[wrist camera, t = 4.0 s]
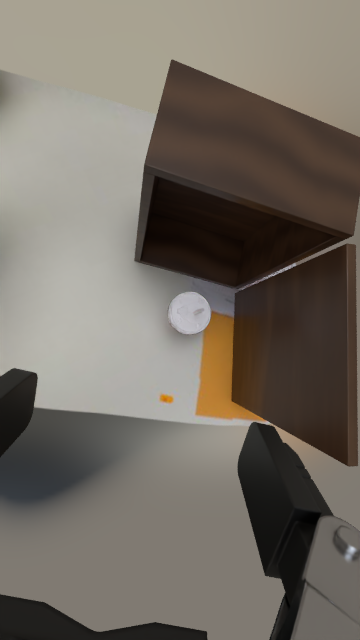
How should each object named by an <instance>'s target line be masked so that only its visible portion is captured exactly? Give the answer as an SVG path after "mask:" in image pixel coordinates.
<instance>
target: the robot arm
mask: <svg viewBox="0 0 360 640" xmlns="http://www.w3.org/2000/svg"><path fill="white" fill-rule="evenodd" d="M37 379H38V377H37V374H36V373H34V372H29V371H25V370H20V369H16V368H13V369H11V370H10V371H8V372H7V373H5V374H4V375H2V376H1V377H0V457H1V456H2V455H3V454H4V452H5V451H6V450H7V449H8V448H9V447H10V446H11V445H12V444H13V442H14V441H15V440H16V439H17V438H18V437H19V436H20V435H21V433H22V432H23V431H24V430H25V429H26V427H27V426H28V424H29V422H30V420H31V417H32V413H33V408H34V401H35V394H36V387H37ZM238 476H239V479H240V483H241V487H242V490H243V494H244V498H245V502H246V506H247V509H248V513H249V517H250V521H251V524H252V528H253V532H254V536H255V539H256V543H257V547H258V551H259V555H260V558H261V562H262V566H263V570H264V573H265V576H269V577H274V578H280V579H281V580H282V583H283V586H284V589H285V595H284V597H283V599H282V602H281V605H280V608H279V611H278V614H277V617H276V621H275V624H274V627H273V630H272V633H271V636H270V639H269V640H360V531H359V530H358V529H356V528H355V527H354V526H352V525H351V524H349V523H348V522H346V521H344V520H342V519H340V518H338V517H335V516H334V515H333V513H332V512H331V510H330V508H329V507H328V505H327V503H326V502H325V500H324V498H323V497H322V495H321V493H320V492H319V490H318V488H317V486H316V485H315V483H314V481H313V480H312V479H311V476H310V475H309V473H308V471H307V470H306V469H305V467H304V465H303V463H302V461H301V460H300V458H299V456H298V455H297V454H296V452H294V450H292V449H291V448H290V447H289V446H288V445H287V444H286V443H283V442H282V440H281V438H280V436H279V434H278V432H277V431H276V429H275V427H273V426H270V425H266V424H261V423H257V422H253V423H251V425H250V427H249V430H248V433H247V435H246V438H245V441H244V444H243V447H242V450H241V453H240V455H239V460H238ZM0 640H207V632H206V631H201V630H195V629H190V628H184V627H179V626H173V625H168V624H162V623H156V622H154V623H149V624H143V625H138V626H131V627H126V628H120V629H115V630H109V631H103V632H96V631H93V630H91V629H89V628H87V627H85V626H84V625H82V624H80V623H79V622H77V621H75V620H73V619H72V618H70V617H68V616H67V615H65V614H63V613H62V612H60V611H58V610H57V609H55V608H53V607H51V606H50V605H48V604H46V603H44V602H39V601H33V600H28V599H22V598H17V597H11V596H6V595H0Z"/></svg>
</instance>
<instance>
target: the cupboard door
mask: <svg viewBox="0 0 360 640" xmlns="http://www.w3.org/2000/svg"><path fill="white" fill-rule="evenodd" d="M356 327H357V325H356V245H354V244H345V245H343V246H340V247H338V248H336V249H334V250H331V251H329V252H327V253H325V254H322V255H320V256H318V257H315V258H313V259H311V260H309V261H307V262H304V263H302V264H300V265H297V266H295V267H293V268H291V269H288V270H286V271H284V272H282V273H279V274H277V275H275V276H273V277H270V278H268V279H266V280H264V281H261V282H259V283H257V284H254V285H252V286H250V287H248V288H245V289H243V290H241V291H239V292H236V293H235V311H234V345H233V378H232V401H233V402H235V403H237V404H238V405H240V406H242V407H244V408H245V409H247V410H249V411H251V412H253V413H254V414H256V415H258V416H260V417H261V418H263V419H265V420H267V421H269V422H270V423H272V424H274V425H276V426H277V427H279V428H281V429H283V430H285V431H286V432H288V433H290V434H292V435H294V436H295V437H297V438H299V439H301V440H302V441H304V442H306V443H308V444H309V445H311V446H313V447H315V448H317V449H318V450H320V451H322V452H324V453H326V454H328V455H329V456H331V457H333V458H334V459H336V460H338V461H340V462H341V463H343V464H345V465H347V466H358V431H357V430H358V427H357V334H356V333H357V329H356Z"/></svg>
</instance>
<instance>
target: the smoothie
mask: <svg viewBox="0 0 360 640" xmlns="http://www.w3.org/2000/svg"><path fill="white" fill-rule="evenodd" d="M210 318H211V308H210V305H209V303H208V301H207V300H206V299H205V298H204V297H203V296H202V295H200V294H199V293H196V292H184V293H181V294H179V295H177V296H176V297H175V298H174V299H173V300H172V301H171V303H170V305H169V309H168V320H169V323H170V325H171V326H173V327H174V328H175V329H176V330H177V331H178V332H180V333H182V334H186V335H193V334H196V333H199V332H201V331H202V330H204V329H205V328H206V327H207V325H208V324H209V322H210Z"/></svg>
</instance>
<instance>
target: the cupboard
mask: <svg viewBox="0 0 360 640" xmlns="http://www.w3.org/2000/svg"><path fill="white" fill-rule="evenodd" d="M359 197H360V137H358V136H356V135H353V134H351V133H348V132H346V131H343V130H341V129H338V128H336V127H334V126H331V125H329V124H327V123H324V122H322V121H319V120H317V119H314V118H312V117H310V116H307V115H305V114H302V113H300V112H297V111H295V110H293V109H290V108H288V107H286V106H283V105H281V104H278V103H275V102H274V101H271V100H268V99H266V98H264V97H261V96H259V95H257V94H254V93H252V92H249V91H247V90H245V89H242V88H240V87H237V86H235V85H233V84H230V83H228V82H225V81H223V80H220V79H218V78H216V77H213V76H211V75H208V74H206V73H204V72H201V71H199V70H196V69H194V68H191V67H189V66H187V65H184V64H182V63H179V62H177V61H175V60H171V63H170V67H169V71H168V74H167V78H166V83H165V86H164V90H163V94H162V98H161V102H160V106H159V110H158V113H157V117H156V121H155V125H154V129H153V133H152V136H151V140H150V144H149V148H148V152H147V156H146V160H145V164H144V172H143V182H142V192H141V201H140V211H139V221H138V230H137V240H136V250H135V260H134V261H137V262H140V263H144V264H147V265H151V266H155V267H158V268H162V269H165V270H169V271H173V272H176V273H180V274H184V275H187V276H191V277H194V278H198V279H202V280H205V281H209V282H213V283H216V284H220V285H223V286H227V287H231V288H234V289H240V288H242V287H244V286H246V285H248V284H250V283H253V282H255V281H257V280H259V279H261V278H263V277H265V276H268V275H270V274H272V273H274V272H276V271H278V270H280V269H283V268H285V267H287V266H289V265H291V264H293V263H296V262H298V261H300V260H302V259H304V258H306V257H308V256H311V255H313V254H315V253H317V252H319V251H321V250H323V249H326V248H328V247H330V246H332V245H334V244H336V243H339V242H340V241H343V240H345V239H347V238H349V237H352V236H353V235H354V230H355V223H356V216H357V209H358V203H359Z"/></svg>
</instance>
